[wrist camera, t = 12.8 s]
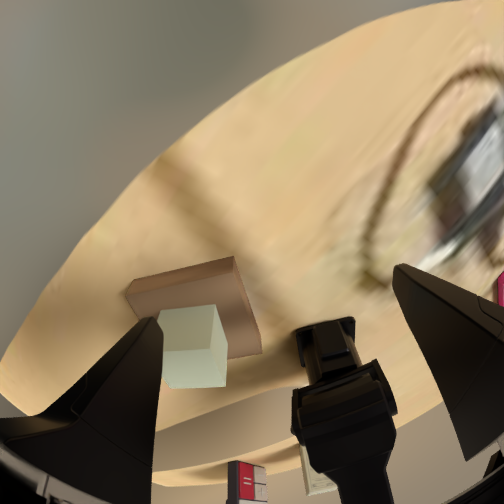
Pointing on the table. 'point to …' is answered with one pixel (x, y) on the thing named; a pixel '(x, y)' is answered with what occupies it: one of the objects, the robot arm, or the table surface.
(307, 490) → the skincare box
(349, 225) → the table surface
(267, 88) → the table surface
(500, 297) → the file sorter
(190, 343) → the sage cube
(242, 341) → the walnut block
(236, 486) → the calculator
